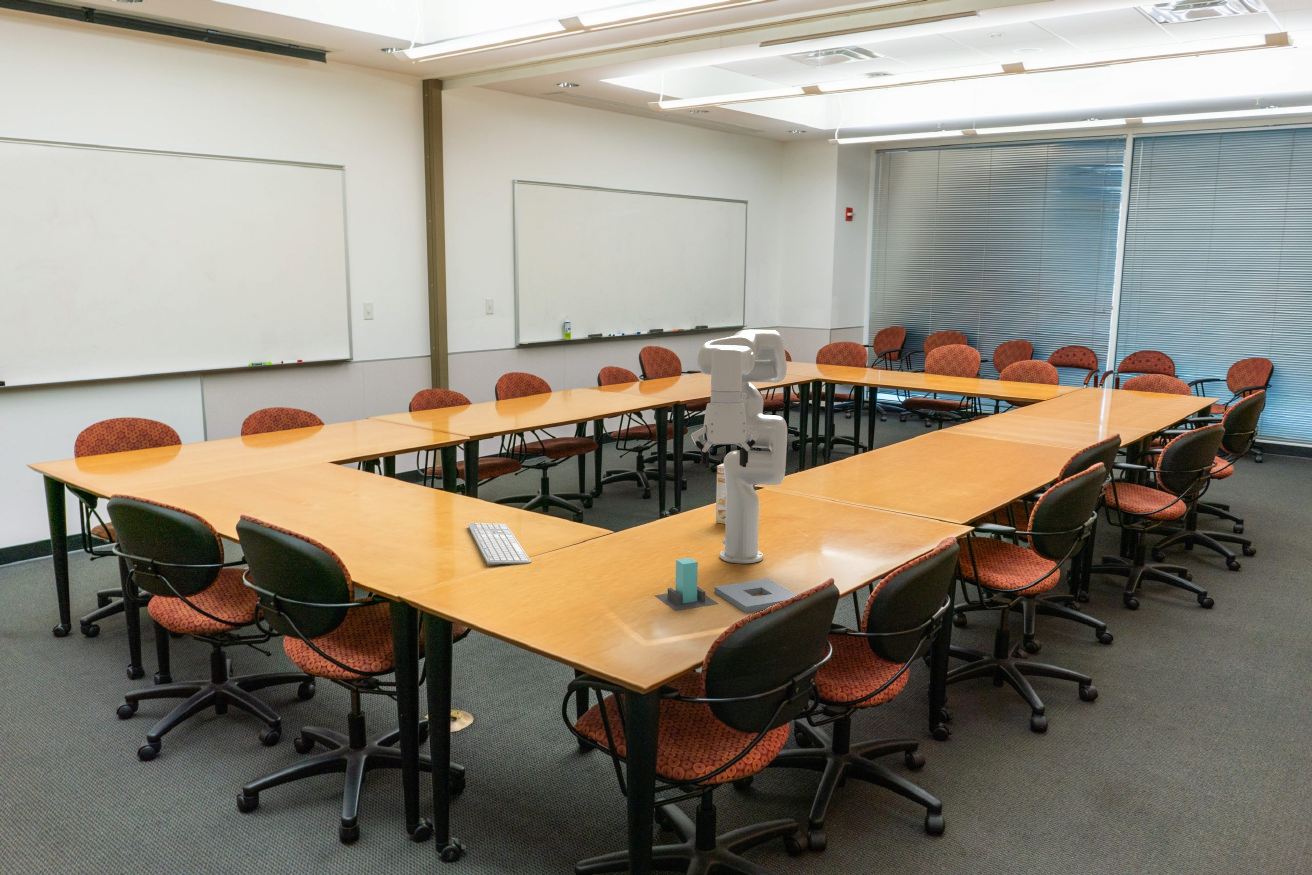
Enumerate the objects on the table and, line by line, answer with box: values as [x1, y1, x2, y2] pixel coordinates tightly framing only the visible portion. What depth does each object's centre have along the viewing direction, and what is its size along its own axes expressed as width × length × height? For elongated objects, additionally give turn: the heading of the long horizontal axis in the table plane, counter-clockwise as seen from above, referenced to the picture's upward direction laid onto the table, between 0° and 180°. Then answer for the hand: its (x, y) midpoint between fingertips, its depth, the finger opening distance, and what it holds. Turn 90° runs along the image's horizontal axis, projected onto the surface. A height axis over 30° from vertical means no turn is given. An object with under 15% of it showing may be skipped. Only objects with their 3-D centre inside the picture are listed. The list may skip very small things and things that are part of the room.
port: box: [713, 578, 798, 614], centre depth 232 cm, size 16×16×2 cm
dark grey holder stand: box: [654, 585, 720, 612], centre depth 230 cm, size 12×12×4 cm
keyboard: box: [467, 522, 532, 567], centre depth 281 cm, size 44×12×2 cm, turn 18°
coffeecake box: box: [715, 462, 754, 525], centre depth 310 cm, size 15×7×20 cm, turn 148°
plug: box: [675, 557, 699, 603], centre depth 229 cm, size 4×4×10 cm
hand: (724, 466), depth 229 cm, fingers open, 9 cm apart
